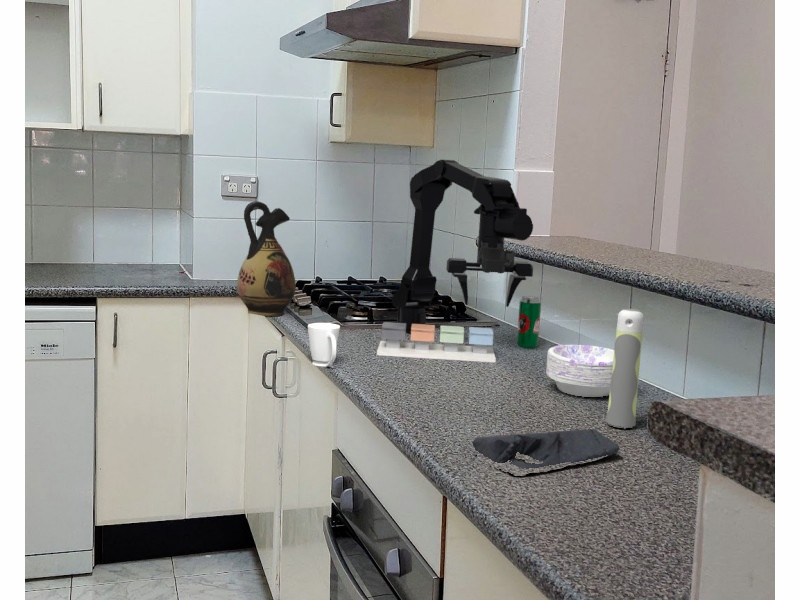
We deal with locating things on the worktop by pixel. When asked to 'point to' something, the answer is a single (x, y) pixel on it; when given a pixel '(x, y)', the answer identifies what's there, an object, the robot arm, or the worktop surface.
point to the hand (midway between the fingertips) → (486, 305)
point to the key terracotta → (422, 332)
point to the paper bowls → (581, 369)
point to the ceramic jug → (265, 266)
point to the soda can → (528, 322)
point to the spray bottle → (625, 369)
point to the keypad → (436, 351)
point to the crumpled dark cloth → (546, 447)
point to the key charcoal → (393, 331)
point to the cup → (323, 343)
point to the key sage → (451, 334)
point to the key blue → (480, 336)
